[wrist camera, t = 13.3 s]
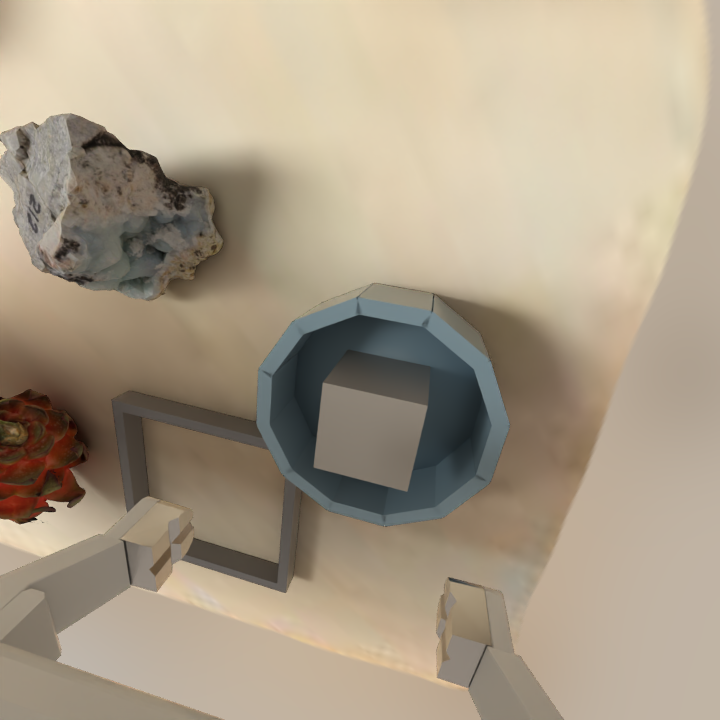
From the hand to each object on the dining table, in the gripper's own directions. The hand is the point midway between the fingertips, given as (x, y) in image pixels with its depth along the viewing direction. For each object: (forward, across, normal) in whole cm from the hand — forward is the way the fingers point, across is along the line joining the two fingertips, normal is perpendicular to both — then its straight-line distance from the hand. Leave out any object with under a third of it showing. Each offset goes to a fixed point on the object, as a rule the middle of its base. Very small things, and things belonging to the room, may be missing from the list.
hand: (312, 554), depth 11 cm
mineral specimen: (+14, +16, -8) cm, 22 cm away
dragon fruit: (+14, +25, +11) cm, 31 cm away
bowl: (+13, -1, 0) cm, 13 cm away
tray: (+13, +11, +12) cm, 21 cm away
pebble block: (+12, -1, 0) cm, 12 cm away
